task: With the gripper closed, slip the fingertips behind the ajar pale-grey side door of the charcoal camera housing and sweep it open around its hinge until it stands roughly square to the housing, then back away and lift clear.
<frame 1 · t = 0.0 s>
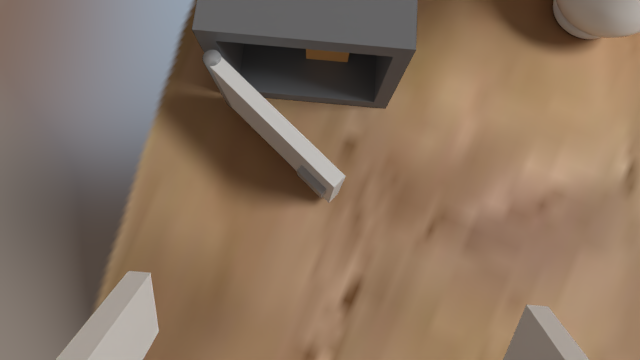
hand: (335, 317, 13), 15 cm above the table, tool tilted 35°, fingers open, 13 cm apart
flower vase: (588, 10, 33), on the table
housing: (312, 40, 32), on the table
door: (273, 134, 25), point 4 cm above the table, hinge at 40.0°
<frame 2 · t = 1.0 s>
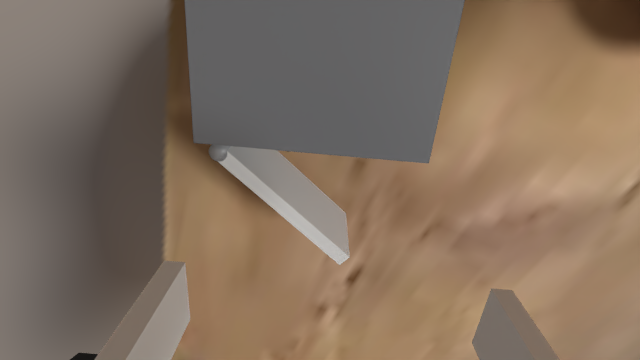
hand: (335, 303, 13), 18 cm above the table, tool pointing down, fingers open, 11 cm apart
housing: (323, 40, 27), on the table
door: (285, 189, 27), point 4 cm above the table, hinge at 40.0°
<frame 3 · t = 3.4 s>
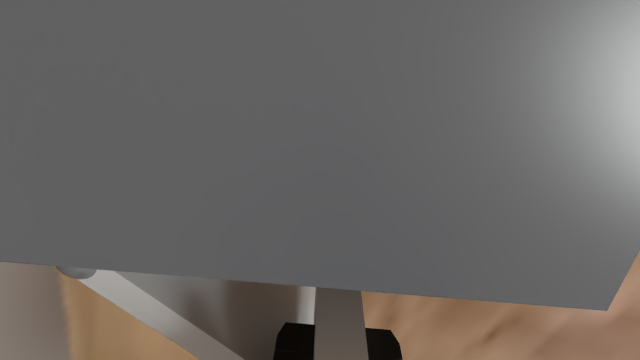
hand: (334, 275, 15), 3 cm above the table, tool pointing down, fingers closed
housing: (323, 6, 14), on the table
door: (251, 295, 14), point 4 cm above the table, hinge at 40.5°, touching gripper
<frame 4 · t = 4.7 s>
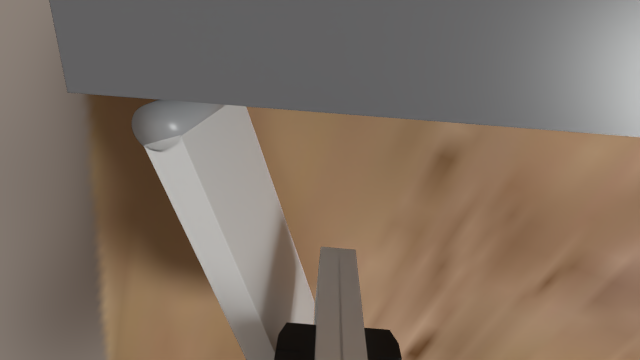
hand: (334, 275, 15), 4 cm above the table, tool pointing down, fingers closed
door: (251, 243, 14), point 4 cm above the table, hinge at 70.6°, touching gripper
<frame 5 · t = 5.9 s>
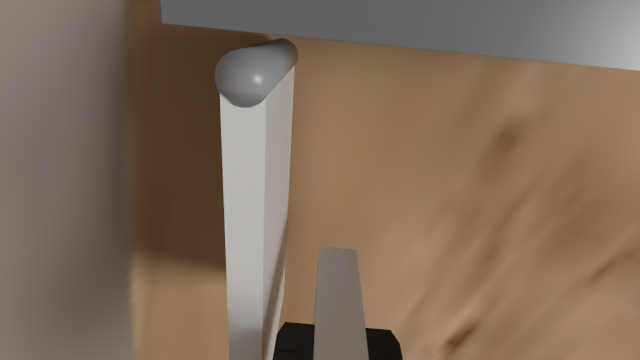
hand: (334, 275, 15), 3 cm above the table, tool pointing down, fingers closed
door: (259, 223, 13), point 4 cm above the table, hinge at 89.3°
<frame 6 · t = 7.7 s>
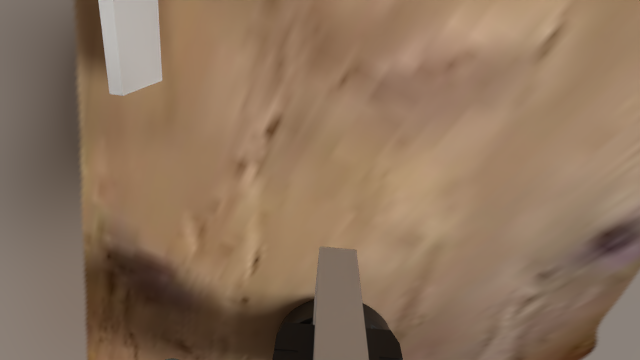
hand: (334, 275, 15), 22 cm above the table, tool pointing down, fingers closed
door: (129, 4, 27), point 4 cm above the table, hinge at 89.4°
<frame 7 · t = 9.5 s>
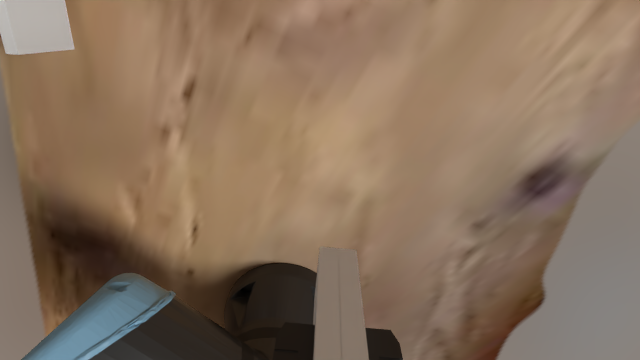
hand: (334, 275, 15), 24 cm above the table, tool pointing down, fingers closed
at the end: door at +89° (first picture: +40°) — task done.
